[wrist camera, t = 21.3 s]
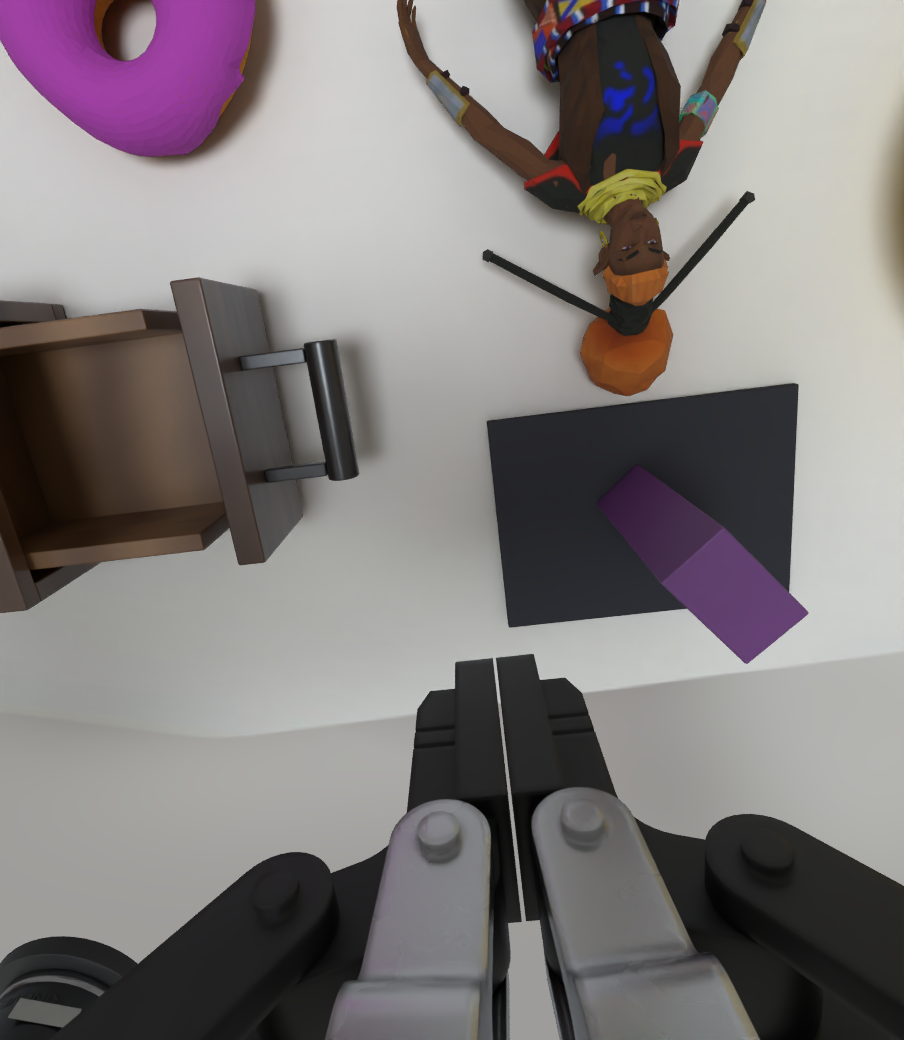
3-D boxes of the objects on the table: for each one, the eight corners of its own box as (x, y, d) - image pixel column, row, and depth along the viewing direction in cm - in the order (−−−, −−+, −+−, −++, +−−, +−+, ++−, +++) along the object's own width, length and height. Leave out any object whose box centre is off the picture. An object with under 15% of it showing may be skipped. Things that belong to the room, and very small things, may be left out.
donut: (-4, 49, 27) (-92, -4, 23) (110, -177, 25) (37, -285, 21) (190, 211, 29) (143, 189, 25) (314, 15, 27) (286, -47, 22)
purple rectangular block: (698, 524, 33) (809, 613, 23) (657, 561, 34) (746, 665, 23) (636, 463, 32) (724, 527, 22) (595, 503, 33) (660, 583, 22)
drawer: (342, 277, 29) (309, 262, 23) (380, 507, 33) (361, 552, 26) (-12, 325, 30) (-144, 323, 23) (61, 544, 33) (-36, 597, 27)
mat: (784, 594, 35) (789, 598, 34) (508, 624, 36) (509, 627, 35) (793, 383, 31) (799, 384, 31) (486, 420, 32) (487, 422, 32)
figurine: (796, -660, 18) (881, 347, 23) (697, -329, 26) (775, 366, 31) (298, -507, 19) (474, 427, 24) (350, -233, 27) (474, 426, 32)
